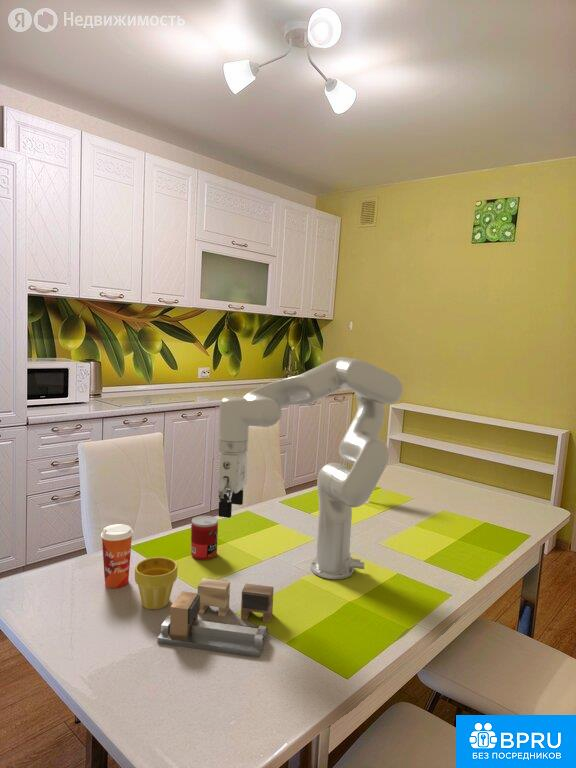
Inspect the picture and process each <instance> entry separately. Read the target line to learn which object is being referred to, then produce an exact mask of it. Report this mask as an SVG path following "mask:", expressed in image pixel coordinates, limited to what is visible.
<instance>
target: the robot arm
mask: <svg viewBox="0 0 576 768" xmlns="http://www.w3.org/2000/svg"><path fill="white" fill-rule="evenodd" d="M344 389H345V390H351V391H353V392H354V393H355V396H356V402H357V408H356V411H355V412H356V413H355V415H354V416H353V419H352V421H351V423H350V425H349V427H348V429H347V430H346V432H345V434H344V436H343V438H342V439H341V441H340V443H339V446H338V453H339V456H340V457H341V459H342V460H343V461H344V460H345V462H348V463H349V464H352V467H349V466H347V465H345V464H342V463H338V462H329V463H327V464H325V465H323V466H322V467H321V468H320V469H319V472H318V474H317V480H316V481H317V482H316V485H317V493H318V521H317V536H316V537H317V539H316V540H317V541H316V557H315V559H313V560H312V561H311V562H310V570H311V572H313V574H315V575H316V576H318V577H320V578H324V579H327V580H343V579H347V578H349V577H351V576H352V575H353V574H354V571H355V569H359V570H365V562H364V561H361V558H354V557H353V556H352V557H351V554H352V553H351V551H350V549H351V534H352V533H351V532H352V531H351V530H352V517H353V514H352V513H353V511H352V510H353V508H359V507H361V506H363V505H364V504H366V503H365V502H366V501H367V500H368V499H369V498H370V497H371V495H372V493H373V491H374V490H375V488H376V486H377V485H378V483H379V480H380V478H381V477H382V475H383V473H384V471H385V469H386V467H387V464H388V461H389V456H390V453H389V451H390V450H389V448H388V445H387V444H386V442H385V441H384V440H383V439H381V438H379V435H380V432H381V430H382V428H383V427H384V423H385V421H386V420H385V418H386V412H385V407H384V406H385V405H394V404H395V403H397V402H398V401H399V400H400V399H401V396H402V394H403V383H402V381H401V379H399V378H398V377H397V376H396V375H395V374H393V373H390V372H389V371H386V370H384V369H383V368H379V367H377V366H375V365H373V364H371V363H369V362H367V361H364V360H362V359H359V358H358V359H357V358H351V357H347V356H346V357H345V356H340V357H335V358H333V359H330V360H328V361H327V362H324V363H322V364H320V365H318V366H316V367H313V368H312V369H309V370H307V371H305V372H303V373H301V374H298V375H297V374H296V375H293V376H290V377H287V378H283V379H279V380H276V381H272V382H269V383H267V384H264V385H263V386H260V387H258V388H256V389H253V390H251V391H249V392H247V393H246V394H244V396H243V397H239V396H226V397H224V398H222V399H221V400H220V402H219V417H218V419H219V422H218V449H217V450H218V452H219V453H220V458H219V459H220V460H219V467H218V517H219V518H228V519H230V518H232V509H233V507H232V506H233V505H238V506H242V505H243V503H244V487H245V486H246V484H247V482H248V458H247V457H248V456H247V453H249V452H248V451H249V450H248V449H249V432H250V430H249V429H250V428H249V427H250V426H251V427H261V428H269V427H273V426H275V425H276V424H278V423H279V421H280V420H281V418H282V413H283V412H282V411H283V410H282V407H285V406H294V405H300V406H301V405H310V404H314V403H316V402H318V401H320V400H323V399H325V398H327V397H328V396H330V395H333V394H334V393H336V392H338V391H340V390H344ZM369 500H370V499H369Z"/></svg>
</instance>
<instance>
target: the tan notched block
mask: <svg viewBox="0 0 576 768" xmlns="http://www.w3.org/2000/svg"><path fill="white" fill-rule="evenodd" d="M230 591H231V580H225V579H217V578H216V579H215V578H210V577H205V578H204V577H203V578H201V580H200V582H199V583H198V585H197V593H198V595H200V611H199V612H198V614H204V613H206V610H207V609H208V608H209V607H215V608H218V616H219V617H226V615H227V613H228V611H229V609H230V599H231V598H230V597H231V596H230V595H231V594H230V593H231V592H230Z"/></svg>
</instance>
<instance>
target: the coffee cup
mask: <svg viewBox="0 0 576 768" xmlns="http://www.w3.org/2000/svg"><path fill="white" fill-rule="evenodd" d="M134 533H135V532H134V531H133V528H131V526H130V525H128V524H123V523H117V524H116V523H115V524H111V525H108V526H104V528H103V529H102V532H101V534H100V538H101V541H102V543H101V544H102V560H103V561H102V562H103V575H104V584H105V586H106V588H109V589H119V588H123V587H124V586H125V587H126V586H127V585H128V584H129V577H130V568H131V567H130V565H131V549H132V540H133V539H132V538H133V537H132V536H133V535H134Z"/></svg>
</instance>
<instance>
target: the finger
mask: <svg viewBox="0 0 576 768" xmlns="http://www.w3.org/2000/svg"><path fill="white" fill-rule="evenodd" d="M244 584H245V585H244V586H243V588H242V590H241V603H240V619H241V620H248V619H249V616H250V614H251V613H252V612H253V613H261V614H262V623H263V622H264V623H270V622H271V619H272V616H273V609H274V590H275V589H274V586H271V585H270V586H269V585H261V584H255V583H254V584H253V583H244Z"/></svg>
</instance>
